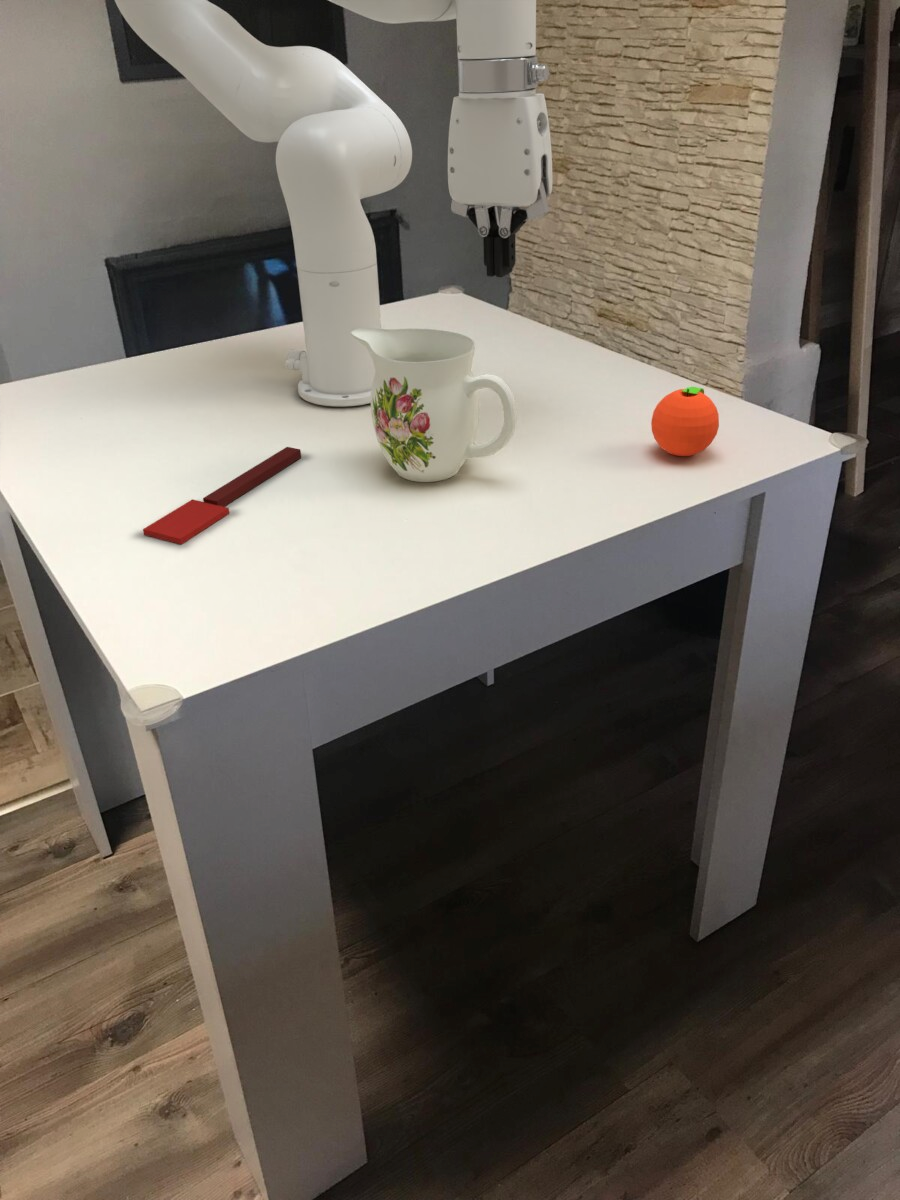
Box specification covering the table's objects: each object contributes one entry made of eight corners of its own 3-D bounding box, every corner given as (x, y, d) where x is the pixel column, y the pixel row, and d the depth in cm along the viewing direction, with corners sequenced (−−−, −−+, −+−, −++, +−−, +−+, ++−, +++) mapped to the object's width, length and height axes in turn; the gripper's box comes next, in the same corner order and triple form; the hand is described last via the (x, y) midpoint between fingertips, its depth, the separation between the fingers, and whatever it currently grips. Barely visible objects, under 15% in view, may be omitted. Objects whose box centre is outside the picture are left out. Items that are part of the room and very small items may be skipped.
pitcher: (491, 507, 93) (490, 369, 86) (335, 476, 100) (322, 346, 93) (536, 464, 101) (538, 334, 94) (388, 438, 108) (380, 316, 101)
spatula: (143, 534, 90) (141, 525, 90) (277, 452, 106) (276, 444, 105) (181, 544, 88) (179, 535, 88) (312, 459, 104) (311, 451, 103)
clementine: (669, 433, 107) (675, 371, 103) (729, 445, 104) (737, 382, 100) (637, 457, 102) (642, 393, 98) (699, 472, 98) (707, 405, 94)
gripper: (583, 75, 93) (578, 271, 102) (447, 77, 99) (454, 262, 109) (553, 81, 87) (550, 288, 97) (411, 83, 93) (421, 277, 103)
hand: (499, 273), depth 103 cm, fingers closed
